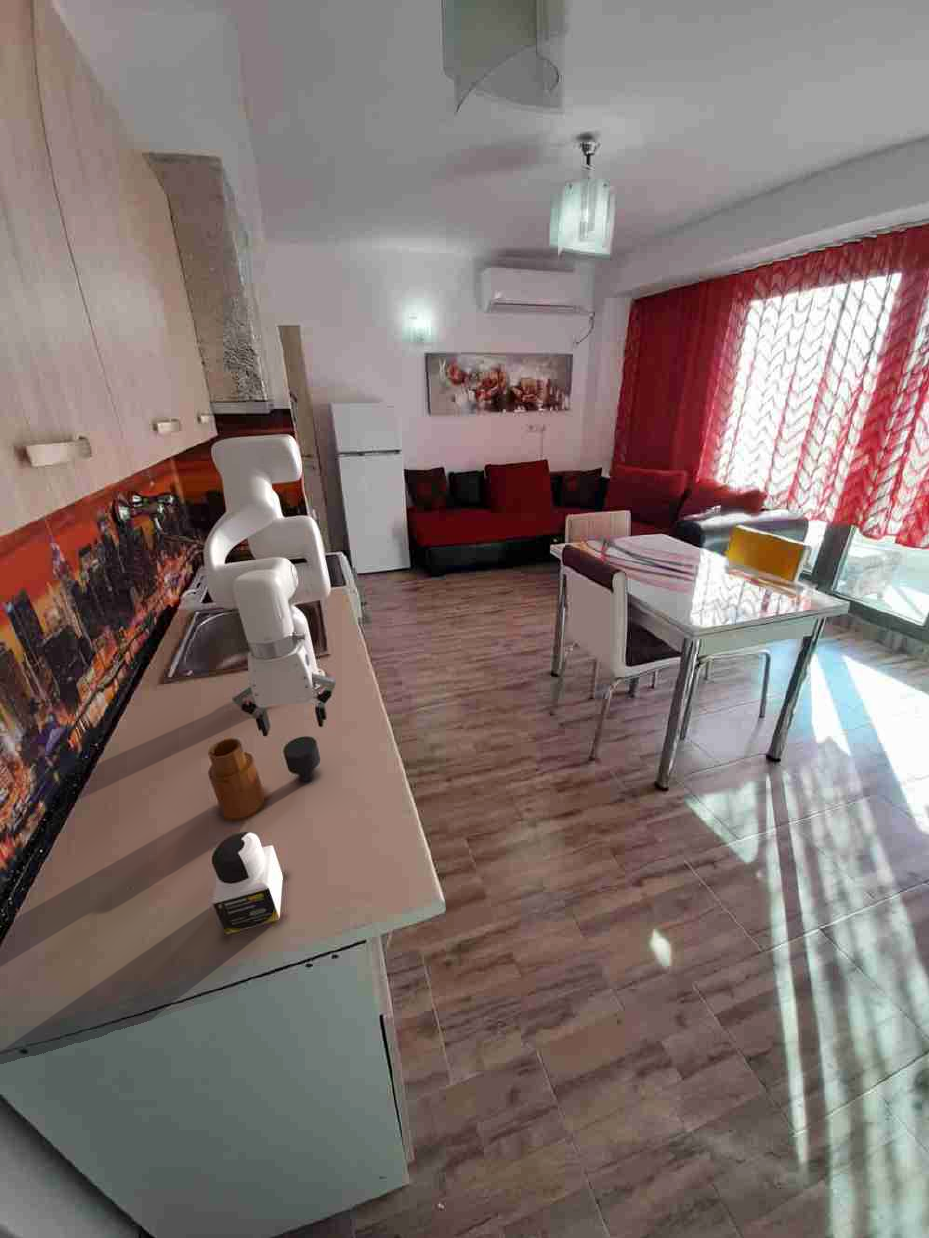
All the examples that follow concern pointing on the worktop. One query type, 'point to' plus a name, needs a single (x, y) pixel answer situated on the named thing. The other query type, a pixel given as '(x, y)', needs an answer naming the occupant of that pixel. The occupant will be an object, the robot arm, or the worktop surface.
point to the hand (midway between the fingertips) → (294, 727)
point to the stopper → (302, 757)
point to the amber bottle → (235, 779)
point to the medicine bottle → (246, 883)
